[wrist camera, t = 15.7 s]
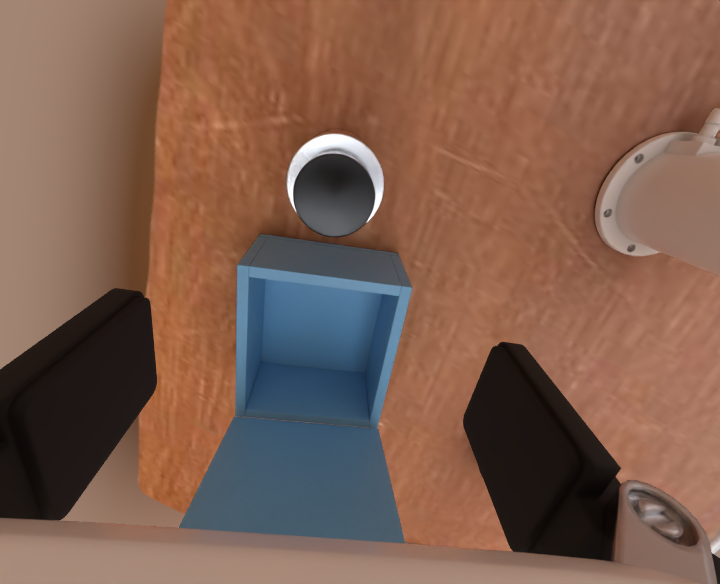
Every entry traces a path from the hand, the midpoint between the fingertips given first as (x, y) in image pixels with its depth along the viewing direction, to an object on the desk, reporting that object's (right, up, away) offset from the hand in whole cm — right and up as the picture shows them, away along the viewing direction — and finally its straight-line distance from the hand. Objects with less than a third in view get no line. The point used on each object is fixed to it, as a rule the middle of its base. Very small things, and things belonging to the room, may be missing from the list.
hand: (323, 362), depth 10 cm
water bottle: (-1, +14, +25) cm, 29 cm away
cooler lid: (-4, -13, +18) cm, 23 cm away
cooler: (-4, 0, +32) cm, 32 cm away
